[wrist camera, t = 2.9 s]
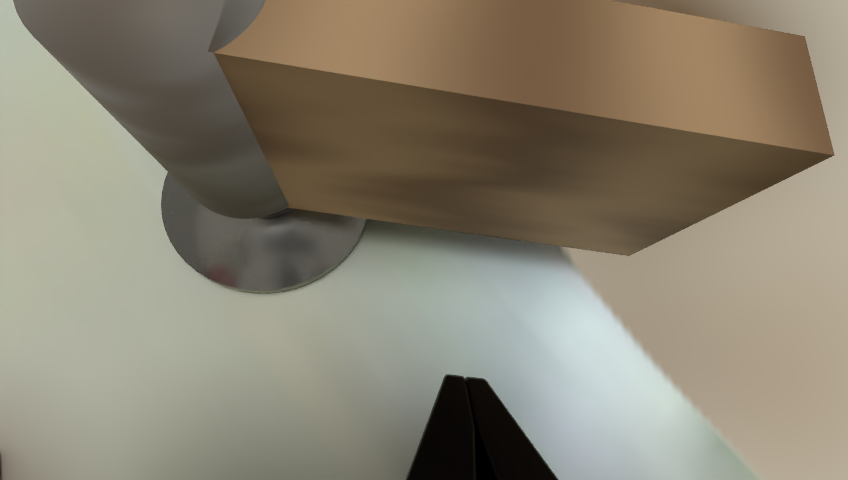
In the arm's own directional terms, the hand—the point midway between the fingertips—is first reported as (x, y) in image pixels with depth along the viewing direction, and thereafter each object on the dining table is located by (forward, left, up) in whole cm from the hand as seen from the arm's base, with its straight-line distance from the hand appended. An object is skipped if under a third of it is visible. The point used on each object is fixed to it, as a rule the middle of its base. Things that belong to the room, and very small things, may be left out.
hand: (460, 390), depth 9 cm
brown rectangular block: (+6, -3, -4) cm, 8 cm away
